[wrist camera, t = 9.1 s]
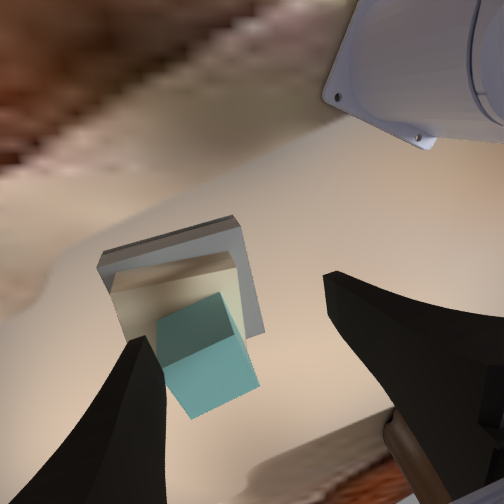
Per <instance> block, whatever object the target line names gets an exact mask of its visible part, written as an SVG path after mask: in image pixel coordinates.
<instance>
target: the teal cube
mask: <svg viewBox="0 0 504 504" xmlns="http://www.w3.org/2000/svg"><path fill="white" fill-rule="evenodd" d="M156 357H157V359H158V361H159V363H160V365H161V368H162V370H163V372H164V376H165V384H166V385H167V387H168V388H169V389H170V391H171V392H172V394H173V395H174V396H175V398H176V399H177V401H178V402H179V403H180V405H181V406H182V407H183V409H184V410H185V411H186V413H187V414H188V416H189V417H190V419H194V418H196V417H198V416H200V415H202V414H204V413H206V412H208V411H210V410H212V409H214V408H216V407H218V406H220V405H223V404H225V403H226V402H229V401H231V400H233V399H235V398H237V397H239V396H241V395H243V394H245V393H247V392H249V391H251V390H253V389H255V388H257V387H259V386H260V385H259V382H258V379H257V376H256V374H255V371H254V368H253V366H252V363H251V360H250V358H249V355H248V352H247V349H246V347H245V344H244V341H243V339H242V336H241V334H240V332H239V330H238V328H237V326H236V324H235V322H234V320H233V318H232V316H231V314H230V312H229V310H228V307H227V305H226V303H225V301H224V299H223V297H222V295H221V293H220V292H218V293H216V294H214V295H212V296H209V297H207V298H205V299H203V300H201V301H198V302H196V303H194V304H192V305H190V306H187V307H185V308H183V309H181V310H179V311H176V312H174V313H172V314H170V315H168V316H165V317H163V318H161V319H159V320H157V336H156Z"/></svg>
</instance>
